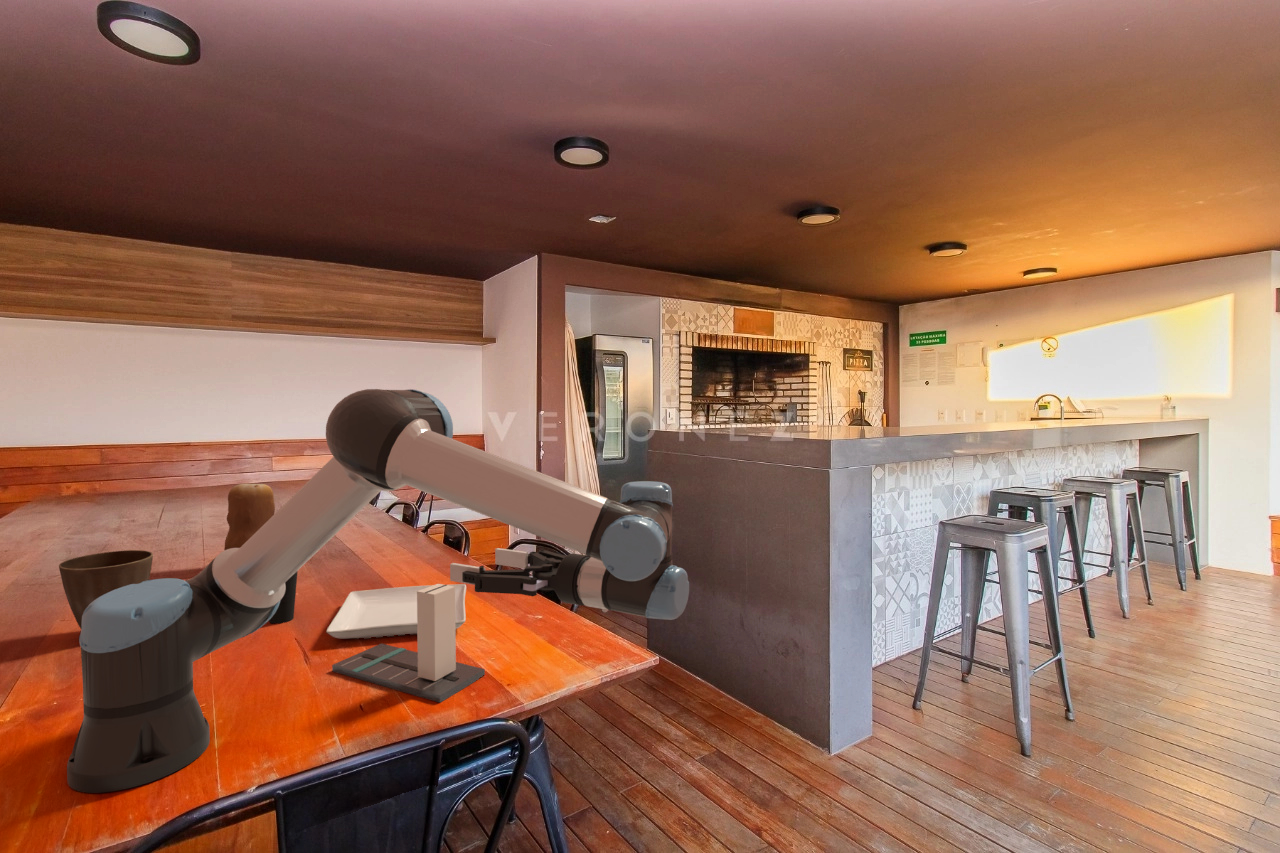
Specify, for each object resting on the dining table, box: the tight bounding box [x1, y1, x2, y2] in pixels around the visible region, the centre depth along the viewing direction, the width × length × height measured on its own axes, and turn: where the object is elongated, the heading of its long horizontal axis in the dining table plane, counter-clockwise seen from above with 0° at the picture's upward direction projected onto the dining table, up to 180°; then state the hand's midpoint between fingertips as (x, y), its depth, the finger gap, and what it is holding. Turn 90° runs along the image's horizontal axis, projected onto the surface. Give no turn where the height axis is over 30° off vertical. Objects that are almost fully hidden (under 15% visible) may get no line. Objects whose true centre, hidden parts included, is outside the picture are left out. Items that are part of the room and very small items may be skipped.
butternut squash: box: [223, 483, 276, 551], centre depth 179 cm, size 14×13×25 cm
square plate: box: [325, 583, 467, 640], centre depth 138 cm, size 27×27×4 cm
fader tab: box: [416, 583, 457, 681], centre depth 107 cm, size 4×5×15 cm
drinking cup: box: [268, 570, 299, 624], centre depth 136 cm, size 8×8×20 cm
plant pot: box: [58, 549, 154, 630], centre depth 128 cm, size 15×15×16 cm
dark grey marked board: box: [331, 643, 486, 704], centre depth 110 cm, size 26×11×1 cm, turn 64°
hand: (475, 563), depth 103 cm, fingers open, 10 cm apart
